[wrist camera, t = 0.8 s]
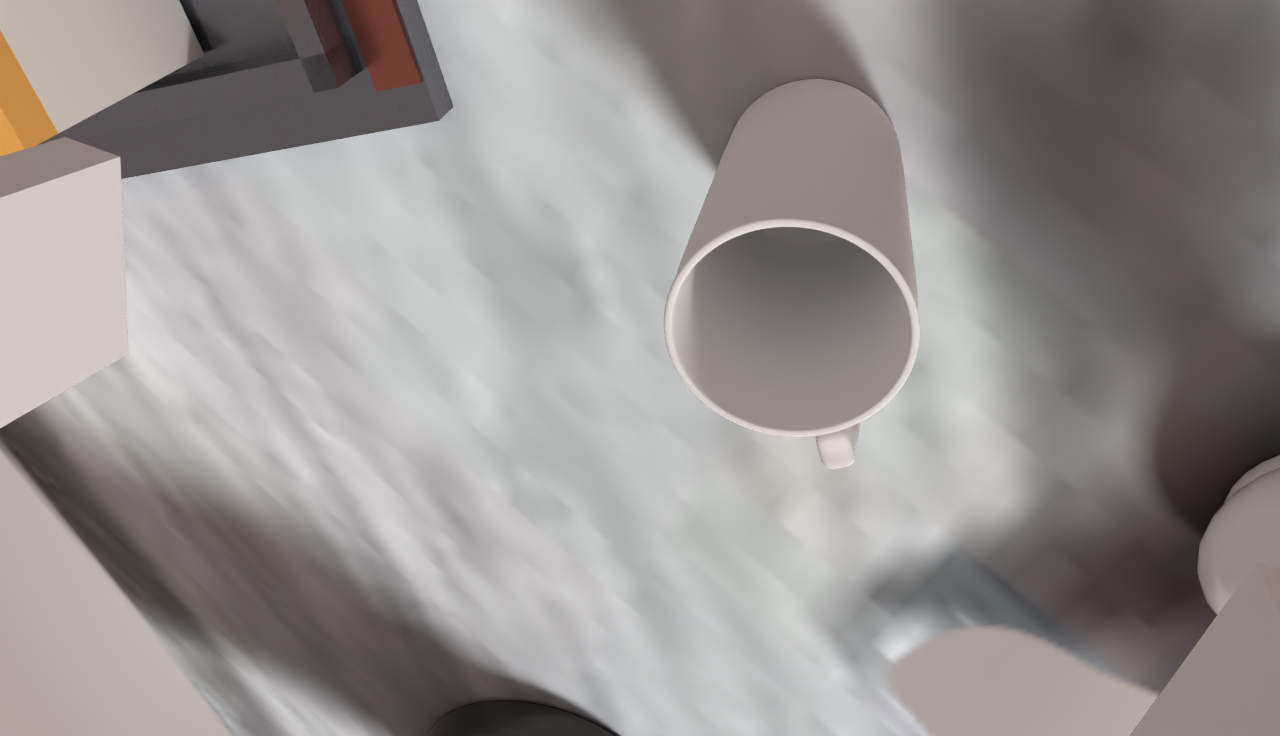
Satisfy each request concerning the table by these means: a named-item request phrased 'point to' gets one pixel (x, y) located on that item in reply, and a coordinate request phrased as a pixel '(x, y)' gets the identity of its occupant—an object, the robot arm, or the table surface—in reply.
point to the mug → (800, 271)
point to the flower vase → (1241, 533)
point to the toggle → (82, 60)
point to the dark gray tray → (276, 83)
